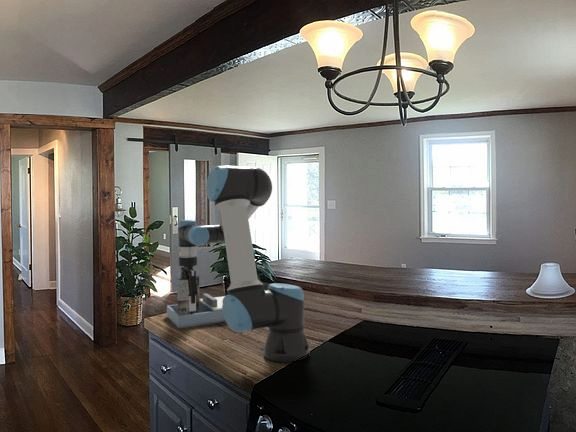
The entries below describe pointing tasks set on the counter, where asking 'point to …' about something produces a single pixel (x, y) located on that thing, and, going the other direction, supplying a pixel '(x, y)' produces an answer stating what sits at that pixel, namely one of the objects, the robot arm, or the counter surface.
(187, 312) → the coffee box
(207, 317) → the blue tray
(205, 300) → the lid
